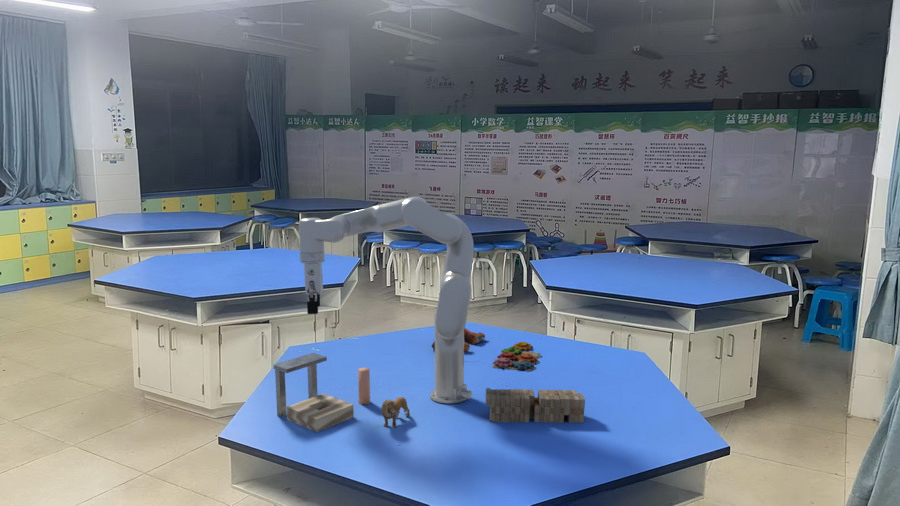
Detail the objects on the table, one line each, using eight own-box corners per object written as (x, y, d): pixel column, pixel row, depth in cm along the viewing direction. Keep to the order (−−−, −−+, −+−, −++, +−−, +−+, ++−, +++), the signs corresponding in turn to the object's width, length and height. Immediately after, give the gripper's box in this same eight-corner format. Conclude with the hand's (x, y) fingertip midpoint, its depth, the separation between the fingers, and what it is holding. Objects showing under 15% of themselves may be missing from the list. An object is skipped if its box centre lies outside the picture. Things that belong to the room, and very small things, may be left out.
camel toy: (427, 351, 256) (469, 361, 252) (434, 318, 257) (476, 327, 252) (443, 348, 280) (481, 357, 276) (449, 318, 281) (488, 326, 276)
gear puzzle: (507, 345, 269) (507, 336, 269) (546, 348, 265) (546, 339, 264) (490, 369, 240) (491, 358, 239) (534, 373, 235) (534, 362, 235)
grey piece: (328, 406, 204) (326, 356, 202) (288, 421, 193) (286, 369, 190) (315, 401, 208) (313, 352, 206) (275, 415, 197) (273, 364, 194)
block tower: (579, 416, 199) (484, 411, 200) (580, 390, 198) (485, 385, 199) (583, 426, 191) (484, 422, 192) (585, 399, 190) (486, 395, 191)
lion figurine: (394, 433, 185) (394, 403, 183) (377, 431, 186) (377, 401, 185) (412, 413, 198) (412, 385, 197) (396, 411, 200) (396, 384, 199)
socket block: (353, 417, 196) (353, 404, 195) (316, 432, 185) (316, 419, 185) (323, 405, 205) (323, 393, 204) (287, 419, 194) (286, 406, 194)
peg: (372, 402, 208) (371, 369, 206) (364, 405, 205) (363, 372, 203) (364, 399, 210) (364, 366, 208) (356, 402, 207) (355, 369, 205)
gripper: (322, 261, 196) (324, 316, 199) (325, 252, 213) (327, 303, 216) (297, 262, 195) (299, 317, 198) (302, 253, 212) (304, 304, 215)
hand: (313, 309), depth 207 cm, fingers open, 9 cm apart
